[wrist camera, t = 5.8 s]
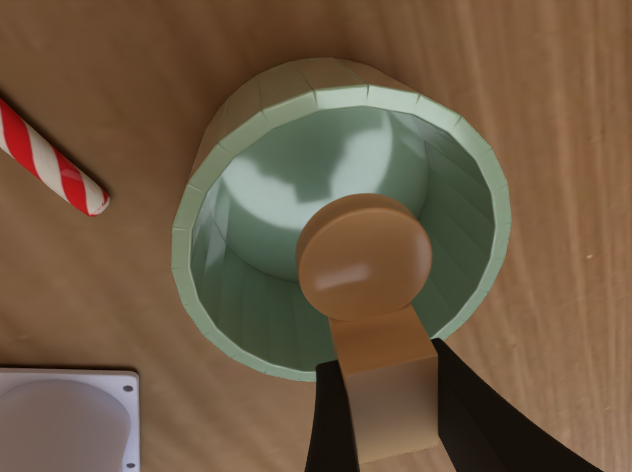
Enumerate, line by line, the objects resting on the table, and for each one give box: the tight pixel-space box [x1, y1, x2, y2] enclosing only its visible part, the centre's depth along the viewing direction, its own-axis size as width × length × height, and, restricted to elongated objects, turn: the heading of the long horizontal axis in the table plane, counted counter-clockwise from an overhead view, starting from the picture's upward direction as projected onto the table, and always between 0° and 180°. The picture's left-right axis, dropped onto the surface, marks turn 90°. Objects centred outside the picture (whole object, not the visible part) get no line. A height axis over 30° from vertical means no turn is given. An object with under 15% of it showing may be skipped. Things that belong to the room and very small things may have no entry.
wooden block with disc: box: [295, 193, 438, 464], centre depth 11 cm, size 7×4×3 cm, turn 9°
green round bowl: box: [171, 57, 512, 382], centre depth 16 cm, size 11×11×6 cm
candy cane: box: [0, 98, 110, 216], centre depth 14 cm, size 8×1×15 cm
